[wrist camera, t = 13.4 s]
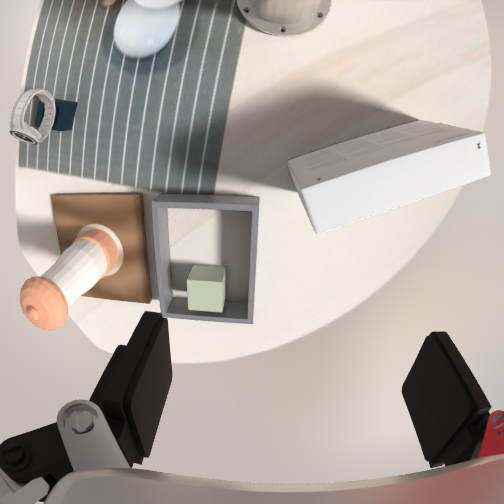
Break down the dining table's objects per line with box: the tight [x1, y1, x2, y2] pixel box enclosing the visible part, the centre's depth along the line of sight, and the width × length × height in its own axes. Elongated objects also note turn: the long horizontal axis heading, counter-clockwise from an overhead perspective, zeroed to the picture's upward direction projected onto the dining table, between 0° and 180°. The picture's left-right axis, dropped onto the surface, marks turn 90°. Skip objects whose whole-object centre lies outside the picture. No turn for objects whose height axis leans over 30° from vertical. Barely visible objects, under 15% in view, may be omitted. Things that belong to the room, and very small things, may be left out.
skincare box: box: [287, 120, 491, 235], centre depth 35 cm, size 21×5×16 cm, turn 111°
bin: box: [152, 194, 259, 324], centre depth 46 cm, size 18×14×4 cm
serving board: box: [52, 193, 152, 304], centre depth 48 cm, size 18×16×1 cm
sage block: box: [187, 265, 226, 312], centre depth 48 cm, size 5×5×5 cm
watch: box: [10, 88, 78, 145], centre depth 35 cm, size 6×8×11 cm
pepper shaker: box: [20, 229, 119, 330], centre depth 39 cm, size 7×7×19 cm
